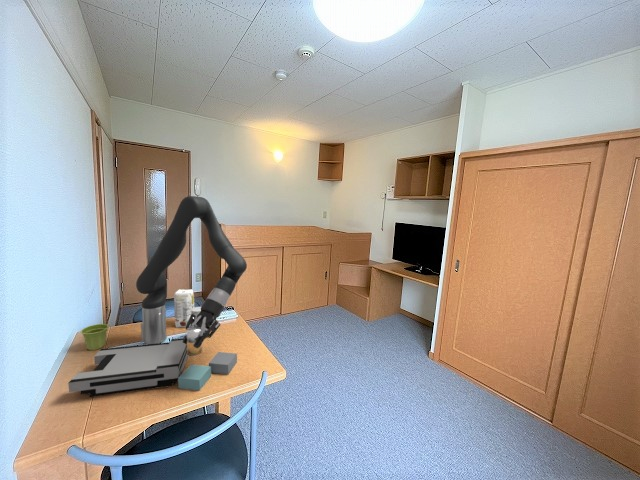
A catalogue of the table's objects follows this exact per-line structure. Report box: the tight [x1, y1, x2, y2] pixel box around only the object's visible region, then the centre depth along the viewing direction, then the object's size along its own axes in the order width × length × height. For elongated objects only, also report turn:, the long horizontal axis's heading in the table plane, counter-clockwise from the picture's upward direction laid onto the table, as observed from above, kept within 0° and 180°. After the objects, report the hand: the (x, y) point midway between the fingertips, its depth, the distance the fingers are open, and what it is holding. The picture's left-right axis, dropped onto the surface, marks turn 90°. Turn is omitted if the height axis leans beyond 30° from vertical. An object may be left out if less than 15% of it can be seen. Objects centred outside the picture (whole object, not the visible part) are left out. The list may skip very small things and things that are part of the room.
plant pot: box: [80, 323, 110, 351], centre depth 118 cm, size 9×9×9 cm
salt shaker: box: [185, 326, 203, 357], centre depth 96 cm, size 5×5×9 cm
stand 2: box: [208, 351, 238, 375], centre depth 107 cm, size 8×8×4 cm
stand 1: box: [177, 364, 212, 392], centre depth 98 cm, size 8×8×4 cm
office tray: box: [68, 337, 188, 398], centre depth 100 cm, size 21×32×8 cm, turn 106°
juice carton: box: [173, 288, 195, 328], centre depth 141 cm, size 8×9×19 cm
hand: (190, 345), depth 94 cm, fingers closed on salt shaker, 5 cm apart
